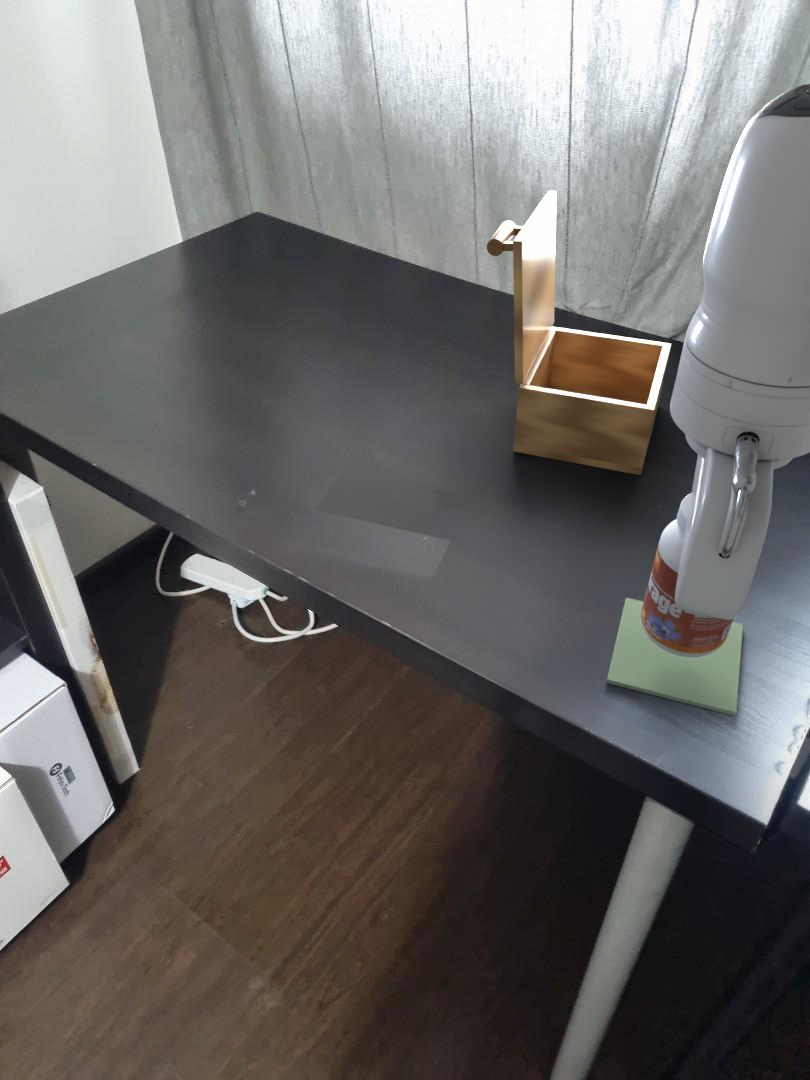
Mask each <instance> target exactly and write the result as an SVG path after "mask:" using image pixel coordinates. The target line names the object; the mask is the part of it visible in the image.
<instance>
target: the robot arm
mask: <svg viewBox="0 0 810 1080" xmlns="http://www.w3.org/2000/svg"><path fill="white" fill-rule="evenodd" d="M702 258H703V259H702V265H701V266H702V280H703V289H702V295H701V299H700V302H699V305H698V308H697V309H696V311H695V313H694V315H693V316H692V318H691V320H690V322H689V323H688V326H687V328H686V331H685V332H686V333H685V337H684V340H683V341H684V342H683V346H682V350H681V354H680V358H679V363H678V367H677V371H676V377H675V381H674V385H673V389H672V394H671V399H670V402H669V413H670V416H671V418H672V421H673V422H674V423H675V425H676V426H677V427H678V429H680V431H682V432H683V434H684V436H685V440H686V442H687V444H688V445H689V447H690V448H691V449H692V450H693V451H694V452H695V453H696V454H697V459H696V464H695V470H694V475H693V482H692V488H691V492H690V493H691V499H690V505H689V511H688V517H687V523H686V529H685V535H684V541H683V547H682V553H681V559H680V565H679V571H678V578H677V584H676V590H675V603H676V605H677V606H678V607H679V608H681V609H683V611H685V612H686V613H690V614H694V615H698V616H710V617H715V618H721V619H728V620H730V619H736V618H738V617H739V615H741V613H742V611H743V609H744V608H745V605H746V602H747V598H748V595H749V592H750V589H751V586H752V583H753V580H754V577H755V574H756V570H757V568H758V564H759V561H760V557H761V554H762V551H763V547H764V544H765V541H766V537H767V533H768V529H769V524H770V518H771V512H772V505H773V486H774V470H778V469H781V468H783V467H785V466H786V465H788V464H789V463H790V462H791V461H793V459H795V458H798V457H801V456H805V455H807V454H810V83H807V84H801V85H798V86H795V87H793V88H790V89H788V90H786V91H785V92H783V93H781V94H780V95H778V96H776V97H775V98H774V99H772V100H770V101H769V102H768V103H766V104H765V105H764V106H763V107H762V108H761V109H760V110H759V111H758V112H756V113H755V115H753V117H751V119H750V120H749V121H748V123H747V124H746V126H745V127H744V129H743V131H742V133H741V135H740V137H739V139H738V142H737V144H736V146H735V149H734V151H733V153H732V155H731V158H730V161H729V164H728V166H727V170H726V171H725V175H724V179H723V181H722V185H721V188H720V190H719V194H718V198H717V202H716V205H715V209H714V212H713V217H712V220H711V225H710V228H709V232H708V236H707V240H706V244H705V249H704V253H703V257H702Z"/></svg>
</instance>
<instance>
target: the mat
mask: <svg viewBox="0 0 810 1080" xmlns="http://www.w3.org/2000/svg"><path fill="white" fill-rule="evenodd" d="M643 602H644V600H638V599H635V598H630V597H625V600H624V604H623V608H622V613H621V617H620V621H619V625H618V629H617V634H616V639H615V642H614V647H613V651H612V656H611V659H610V660H611V661H610V665H609V669H608V673H607V679H606V684H609V685H613V686H617V687H620V688H621V687H622V688H625V689H629V690H633V691H637V692H640V693H645V694H649V695H651V696H655V697H656V696H657V697H660V698H662V699H663V698H664V699H668V700H671V701H676V702H680V703H684V704H687V705H691V706H695V707H699V708H702V709H707V710H710V711H714V712H719V713H722V714H726V715H731V716H733V717H735V716H737V713H738V712H737V711H738V701H739V700H738V699H739V685H740V671H741V659H742V648H743V647H742V646H743V633H744V623H739V622H735V621H733V622H732V625H731V628H730V631H729V633H728V636H727V638H726V641H725V642H724V644H723V645H722V646H721V647H720V648H719V649H718V650H717V651H715V652H713V653H711V654H709V655H706V656H701V657H683V656H679V655H675V654H672V653H670V652H667V651H665V650H663V649H662V648H660V647H659V646H657V645H656V644H655V643H653V642H652V641H651V640H650V639H649V638H648V636H647V635H646V633H645V632H644V630H643V628H642V625H641V611H642V606H643Z"/></svg>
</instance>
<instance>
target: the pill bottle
mask: <svg viewBox="0 0 810 1080" xmlns="http://www.w3.org/2000/svg"><path fill="white" fill-rule="evenodd" d="M691 493H692V492H690V493H688V494H687V495H686V496H684V498H683V499H682V500H681V502H680V504H679V508H678V512H677V514H676V518H675V519H674V520H672V521H671V522H670V523H668V524H667V525H666V526H665V528H664V529H663V530H662V532H661V534H660V538H659V541H658V544H657V548H656V552H655V556H654V560H653V565H652V569H651V573H650V576H649V580H648V584H647V588H646V592H645V596H644V599H643V606H642V611H641V625H642V628H643V630H644V632H645V633H646V635H647V636H648V638H649V639H650V640H651V641H652V642H653V643H655V644H656V645H657V646H659V647H660V648H662V649H663V650H665V651H667V652H670V653H672V654H675V655H679V656H683V657H701V656H706V655H709V654H711V653H713V652H715V651H717V650H718V649H719V648H720V647H721V646H722V645H723V644H724V642H725V641H726V638H727V636H728V633H729V631H730V628H731V625H732V622H734V619H735V618H734V619H730V620H728V619H721V618H715V617H710V616H698V615H694V614H690V613H686V612H685V611H683V609H681V608H679V607H678V606H677V605H676V603H675V590H676V584H677V578H678V571H679V565H680V559H681V553H682V547H683V541H684V535H685V529H686V523H687V517H688V511H689V505H690V499H691Z"/></svg>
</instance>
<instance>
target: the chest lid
mask: <svg viewBox="0 0 810 1080" xmlns="http://www.w3.org/2000/svg"><path fill="white" fill-rule="evenodd" d="M556 233H557V191H556V190H548V191H547V193H546V194H544V196H543V198H542V199H541V201H540V202H539V203H538V205H537V206H536V207H535V209H534V211H533V212H532V213H531V215H530V217H529V218H528V219H527V220H526V222H525V224H524V225H516V223H515V222H514V221H512V220H510V219H509V220H505V221H503V222H502V223H501V224H500V226H499V227H498V229H497V230H496V231H495V232H494V233H493V235H492V236H491V237H490V239H489V240H488V242H487V243H486V251H487V253H488V254H489V255H491V256H492V257H498V256H500V255H502V254H503V252H512V261H513V262H512V265H513V266H512V267H513V268H512V269H513V271H512V272H513V273H512V274H513V325H514V326H513V328H514V329H513V330H514V332H513V333H514V383H516V384H521V383H522V384H523V383H524V381H525V379H526V377H527V375H528V373H529V371H530V369H531V367H532V365H533V363H534V361H535V359H536V357H537V355H538V353H539V351H540V349H541V347H542V345H543V343H544V341H545V339H546V337H547V335H548V333H549V331H550V329H551V327H553V326H554V323H555V305H556V303H555V301H556V299H555V298H556V296H555V295H556V242H557V241H556V239H557V237H556V236H557V235H556ZM514 237H515V238H514ZM513 238H514V239H513Z"/></svg>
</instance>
